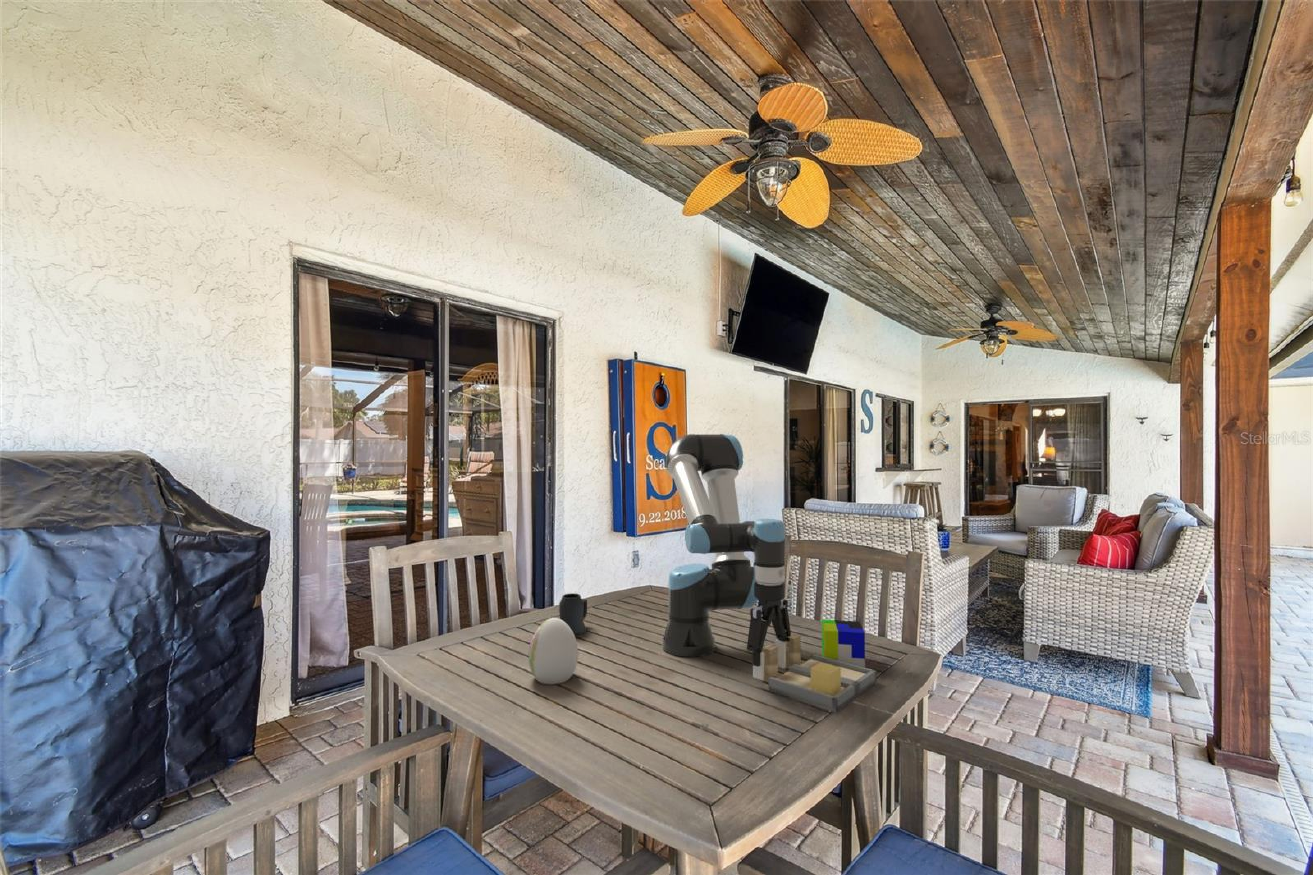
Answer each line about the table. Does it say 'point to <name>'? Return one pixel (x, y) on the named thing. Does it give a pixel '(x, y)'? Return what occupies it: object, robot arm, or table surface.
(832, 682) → the cube
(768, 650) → the strip
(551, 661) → the decorative egg
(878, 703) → the table surface
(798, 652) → the strip
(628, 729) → the table surface
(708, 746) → the table surface
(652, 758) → the table surface
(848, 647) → the puzzle toy
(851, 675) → the board
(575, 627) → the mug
